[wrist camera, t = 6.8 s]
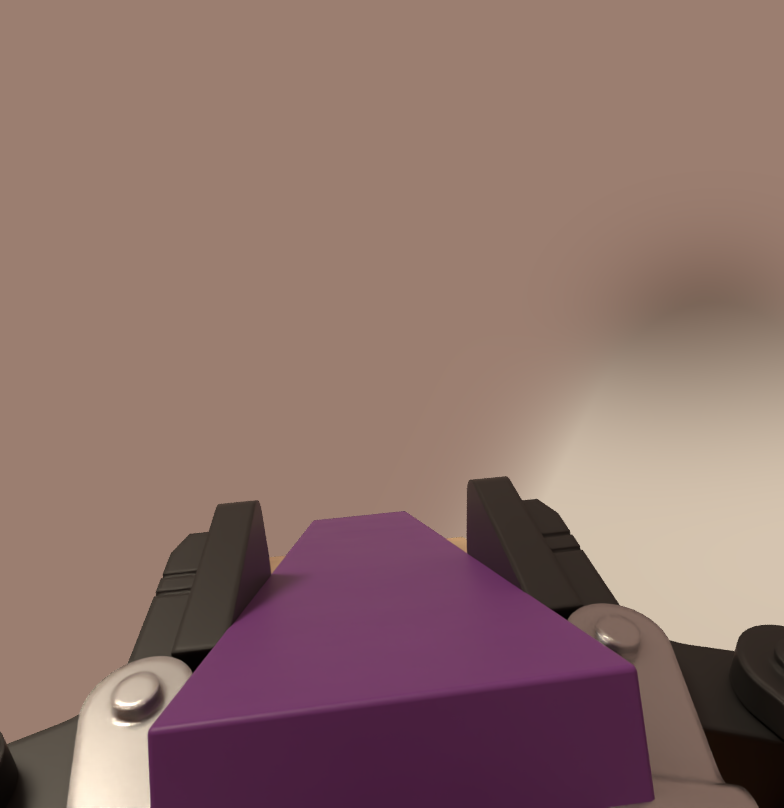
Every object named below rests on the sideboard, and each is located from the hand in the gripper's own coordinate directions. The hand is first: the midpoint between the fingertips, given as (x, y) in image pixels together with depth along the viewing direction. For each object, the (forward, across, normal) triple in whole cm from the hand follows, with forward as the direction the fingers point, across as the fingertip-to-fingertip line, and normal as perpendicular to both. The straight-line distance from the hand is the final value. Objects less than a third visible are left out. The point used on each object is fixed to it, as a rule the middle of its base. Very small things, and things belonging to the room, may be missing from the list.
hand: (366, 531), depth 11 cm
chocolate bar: (+2, 0, +4) cm, 4 cm away
